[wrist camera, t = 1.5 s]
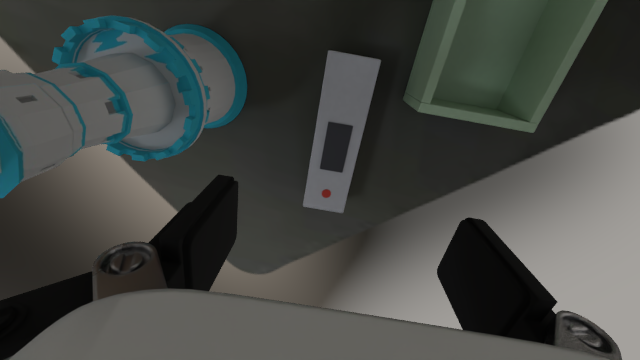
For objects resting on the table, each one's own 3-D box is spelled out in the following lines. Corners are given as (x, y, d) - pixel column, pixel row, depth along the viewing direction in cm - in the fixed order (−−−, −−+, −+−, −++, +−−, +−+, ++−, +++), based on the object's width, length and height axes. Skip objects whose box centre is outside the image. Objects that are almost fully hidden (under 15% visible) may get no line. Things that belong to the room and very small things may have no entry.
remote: (329, 49, 25) (328, 50, 22) (376, 58, 25) (381, 59, 22) (305, 192, 32) (302, 207, 29) (342, 198, 32) (342, 214, 29)
